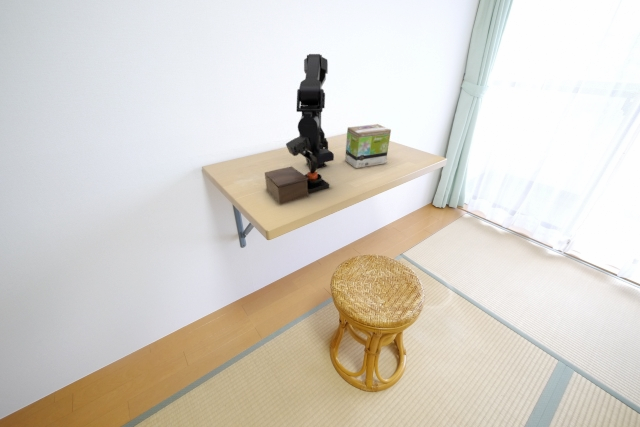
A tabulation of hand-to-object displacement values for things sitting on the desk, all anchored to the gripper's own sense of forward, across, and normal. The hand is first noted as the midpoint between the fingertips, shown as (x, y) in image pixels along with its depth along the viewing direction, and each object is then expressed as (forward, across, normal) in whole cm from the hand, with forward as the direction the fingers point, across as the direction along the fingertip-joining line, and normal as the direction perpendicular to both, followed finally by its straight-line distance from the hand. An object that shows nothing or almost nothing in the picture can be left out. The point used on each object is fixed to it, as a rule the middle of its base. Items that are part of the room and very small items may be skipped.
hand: (312, 173), depth 92 cm
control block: (+5, 0, 0) cm, 5 cm away
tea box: (+5, -8, +30) cm, 32 cm away
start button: (+2, 0, 0) cm, 2 cm away
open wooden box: (+5, 0, -10) cm, 12 cm away
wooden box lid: (-1, +1, -10) cm, 11 cm away
